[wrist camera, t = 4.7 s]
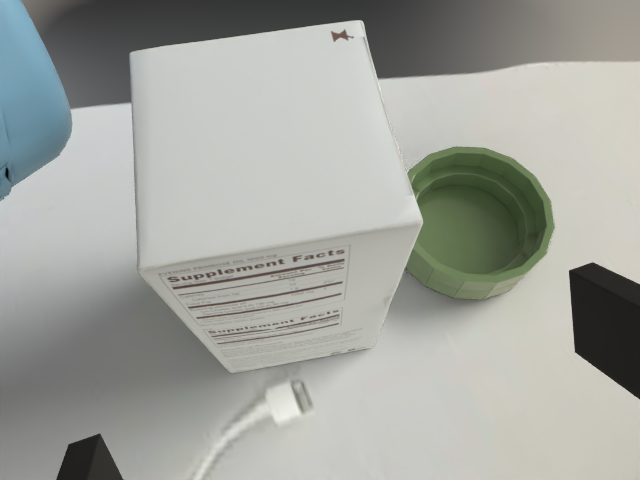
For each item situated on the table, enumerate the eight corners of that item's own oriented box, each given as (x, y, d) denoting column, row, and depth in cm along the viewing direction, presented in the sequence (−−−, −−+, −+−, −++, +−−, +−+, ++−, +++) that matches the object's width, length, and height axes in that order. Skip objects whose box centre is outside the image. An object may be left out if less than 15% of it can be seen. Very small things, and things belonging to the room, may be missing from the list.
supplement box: (212, 237, 34) (122, 41, 19) (346, 214, 35) (362, 7, 20) (227, 379, 30) (128, 274, 15) (378, 351, 31) (431, 222, 16)
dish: (426, 321, 32) (437, 303, 28) (370, 198, 35) (374, 170, 32) (559, 275, 33) (584, 253, 30) (491, 160, 37) (507, 130, 34)
